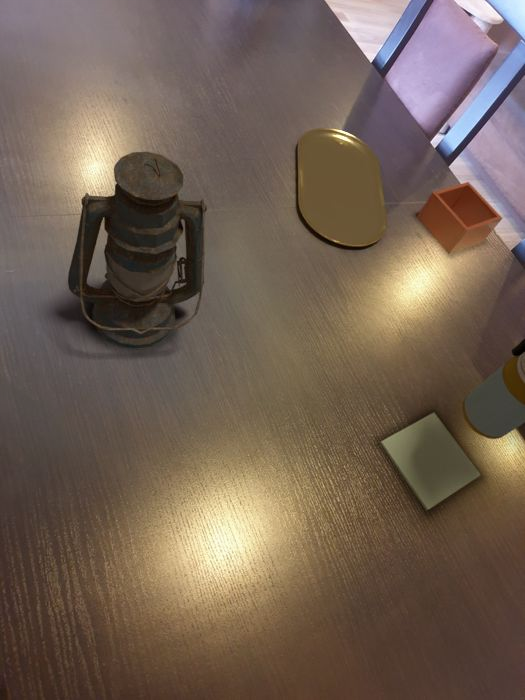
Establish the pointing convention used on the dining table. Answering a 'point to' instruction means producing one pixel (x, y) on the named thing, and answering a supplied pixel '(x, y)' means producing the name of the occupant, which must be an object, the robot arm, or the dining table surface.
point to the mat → (430, 460)
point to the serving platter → (340, 188)
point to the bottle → (498, 401)
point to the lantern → (140, 252)
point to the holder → (447, 223)
